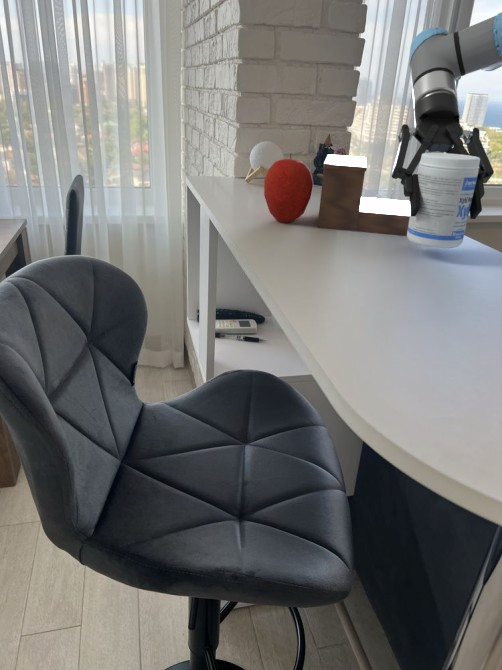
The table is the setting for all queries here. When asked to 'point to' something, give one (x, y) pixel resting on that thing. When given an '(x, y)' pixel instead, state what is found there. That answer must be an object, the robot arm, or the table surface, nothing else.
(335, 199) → the step shelf
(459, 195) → the supplement tub
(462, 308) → the table surface
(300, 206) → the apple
